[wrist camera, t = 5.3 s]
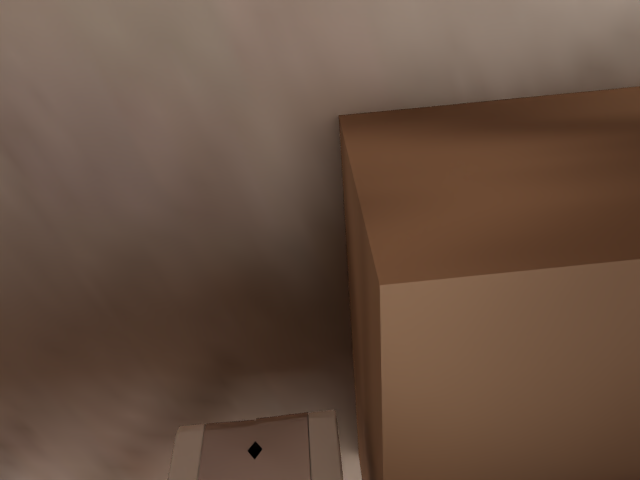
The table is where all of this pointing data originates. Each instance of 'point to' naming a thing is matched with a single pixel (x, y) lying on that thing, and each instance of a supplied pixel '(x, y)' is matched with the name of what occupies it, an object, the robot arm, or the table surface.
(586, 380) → the walnut block
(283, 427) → the robot arm
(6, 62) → the table surface
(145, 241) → the table surface
